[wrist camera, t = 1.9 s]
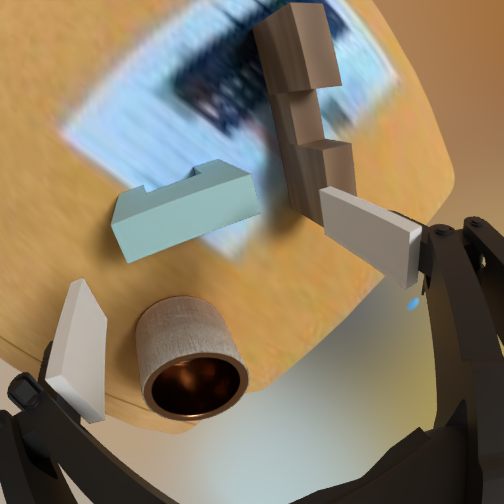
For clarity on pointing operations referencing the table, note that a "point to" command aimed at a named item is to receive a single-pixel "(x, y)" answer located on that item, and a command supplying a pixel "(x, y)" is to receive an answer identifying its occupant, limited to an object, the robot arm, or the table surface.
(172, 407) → the planter
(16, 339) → the table surface
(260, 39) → the walnut fin
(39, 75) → the table surface
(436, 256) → the robot arm
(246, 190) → the light blue piece
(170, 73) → the table surface
